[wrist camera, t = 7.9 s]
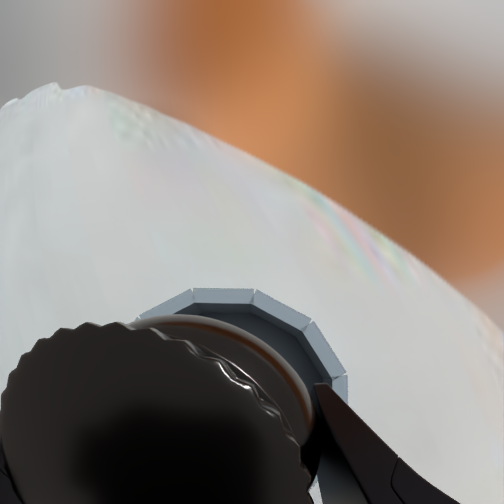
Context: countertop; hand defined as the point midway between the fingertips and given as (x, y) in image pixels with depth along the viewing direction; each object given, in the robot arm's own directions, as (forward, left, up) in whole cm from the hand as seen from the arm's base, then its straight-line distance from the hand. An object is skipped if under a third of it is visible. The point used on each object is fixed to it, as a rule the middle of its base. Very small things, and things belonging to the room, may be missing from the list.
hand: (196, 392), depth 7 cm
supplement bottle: (-1, +1, -7) cm, 7 cm away
